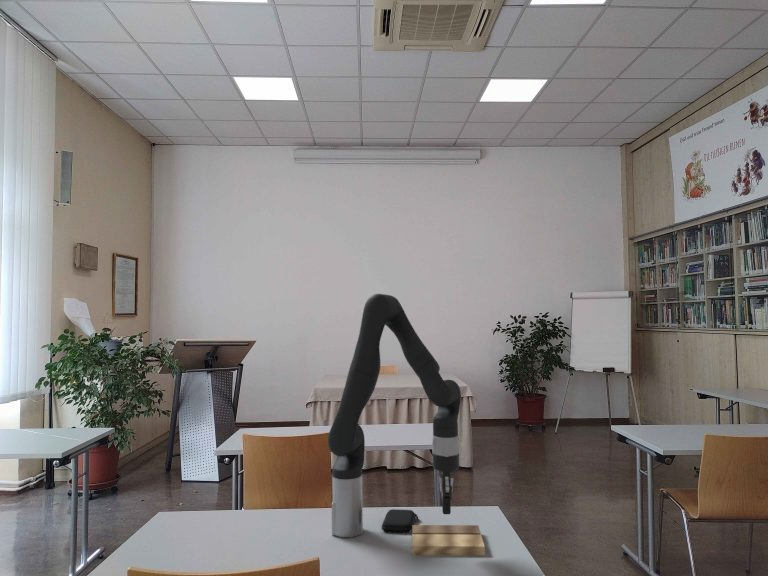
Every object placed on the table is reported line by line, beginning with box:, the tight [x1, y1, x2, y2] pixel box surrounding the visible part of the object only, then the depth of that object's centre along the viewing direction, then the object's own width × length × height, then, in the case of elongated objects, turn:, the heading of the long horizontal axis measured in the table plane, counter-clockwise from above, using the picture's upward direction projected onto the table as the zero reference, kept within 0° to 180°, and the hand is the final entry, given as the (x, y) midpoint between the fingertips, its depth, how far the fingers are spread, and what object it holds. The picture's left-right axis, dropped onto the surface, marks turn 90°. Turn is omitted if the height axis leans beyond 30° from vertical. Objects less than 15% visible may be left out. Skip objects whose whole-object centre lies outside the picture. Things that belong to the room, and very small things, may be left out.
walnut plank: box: [411, 524, 482, 536], centre depth 162 cm, size 20×6×2 cm, turn 87°
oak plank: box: [411, 534, 486, 556], centre depth 154 cm, size 20×8×2 cm, turn 87°
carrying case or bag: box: [381, 508, 419, 534], centre depth 172 cm, size 11×3×15 cm
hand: (446, 513), depth 153 cm, fingers closed
